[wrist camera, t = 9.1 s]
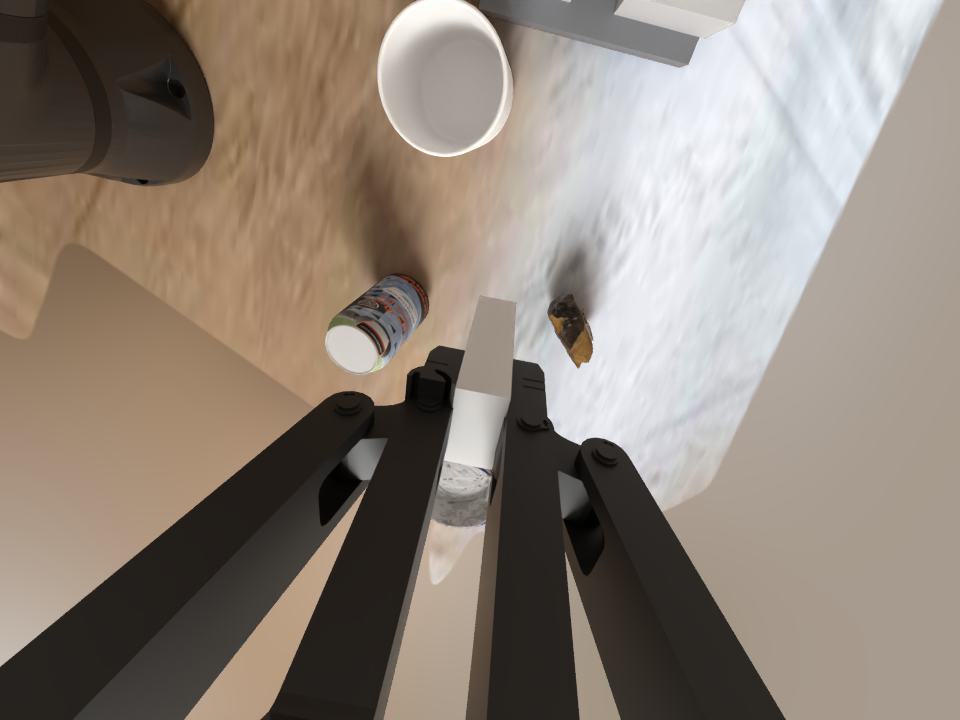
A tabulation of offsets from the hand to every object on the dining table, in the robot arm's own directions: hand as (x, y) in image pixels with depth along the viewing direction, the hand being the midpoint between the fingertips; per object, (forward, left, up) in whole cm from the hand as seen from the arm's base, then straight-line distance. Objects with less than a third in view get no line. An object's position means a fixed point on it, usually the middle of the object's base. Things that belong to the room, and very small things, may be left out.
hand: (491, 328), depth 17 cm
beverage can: (-3, -15, -25) cm, 29 cm away
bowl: (+19, -29, -25) cm, 43 cm away
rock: (+10, -3, -25) cm, 27 cm away
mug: (-11, +5, -25) cm, 28 cm away
